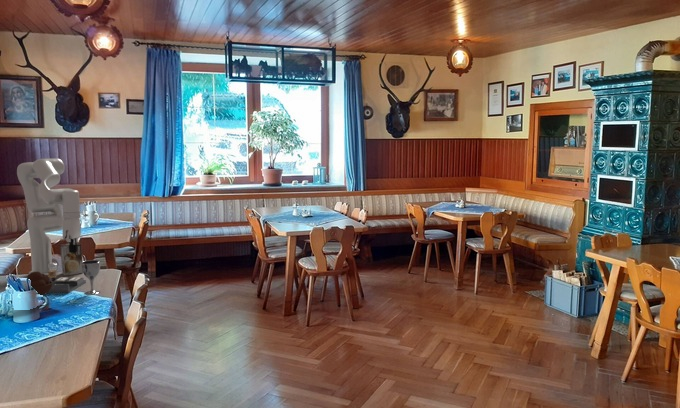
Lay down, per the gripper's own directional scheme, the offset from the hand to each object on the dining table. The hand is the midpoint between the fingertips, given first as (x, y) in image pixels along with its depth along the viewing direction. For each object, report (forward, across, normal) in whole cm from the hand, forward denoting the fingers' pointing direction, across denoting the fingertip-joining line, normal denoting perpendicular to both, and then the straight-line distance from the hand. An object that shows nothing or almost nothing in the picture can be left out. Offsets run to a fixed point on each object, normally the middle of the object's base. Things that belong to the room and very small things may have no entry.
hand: (73, 252), depth 256 cm
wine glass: (+17, +12, +13) cm, 25 cm away
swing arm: (+9, +6, -7) cm, 13 cm away
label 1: (+14, 0, -6) cm, 15 cm away
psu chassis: (+17, +4, -5) cm, 18 cm away
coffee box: (+17, -25, -12) cm, 32 cm away
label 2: (+14, 0, 0) cm, 14 cm away
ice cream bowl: (+17, +30, -2) cm, 35 cm away
